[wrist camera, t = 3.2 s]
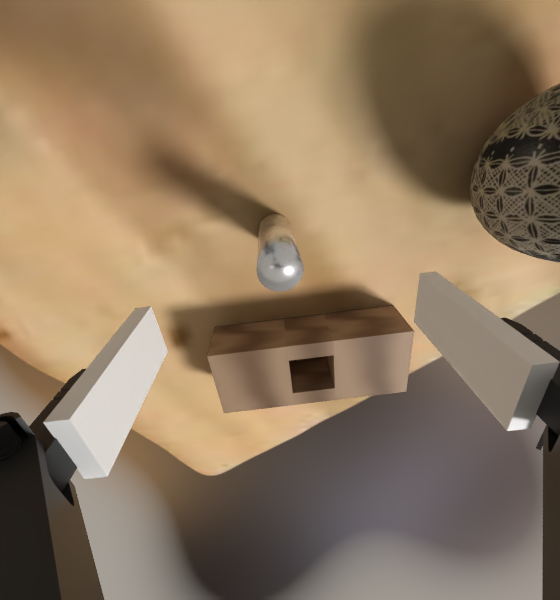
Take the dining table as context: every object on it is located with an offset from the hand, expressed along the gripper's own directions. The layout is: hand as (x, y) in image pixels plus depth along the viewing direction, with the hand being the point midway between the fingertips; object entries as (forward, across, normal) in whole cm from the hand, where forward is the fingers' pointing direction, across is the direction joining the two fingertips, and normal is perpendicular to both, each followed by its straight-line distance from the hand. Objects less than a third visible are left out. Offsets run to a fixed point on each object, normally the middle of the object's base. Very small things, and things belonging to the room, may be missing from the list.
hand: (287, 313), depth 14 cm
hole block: (+15, +2, -14) cm, 20 cm away
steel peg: (+15, 0, 0) cm, 15 cm away
